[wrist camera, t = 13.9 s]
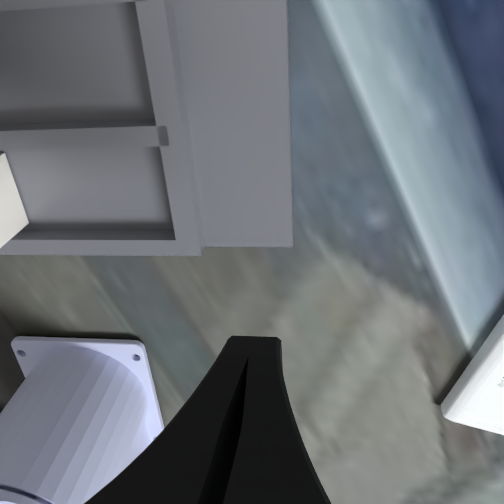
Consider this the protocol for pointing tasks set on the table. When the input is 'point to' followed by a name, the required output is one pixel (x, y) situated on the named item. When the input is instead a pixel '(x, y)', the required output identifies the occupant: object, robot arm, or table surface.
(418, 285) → the table surface
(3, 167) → the white block
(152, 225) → the switch bank
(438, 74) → the table surface
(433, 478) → the table surface
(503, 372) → the external hard drive
